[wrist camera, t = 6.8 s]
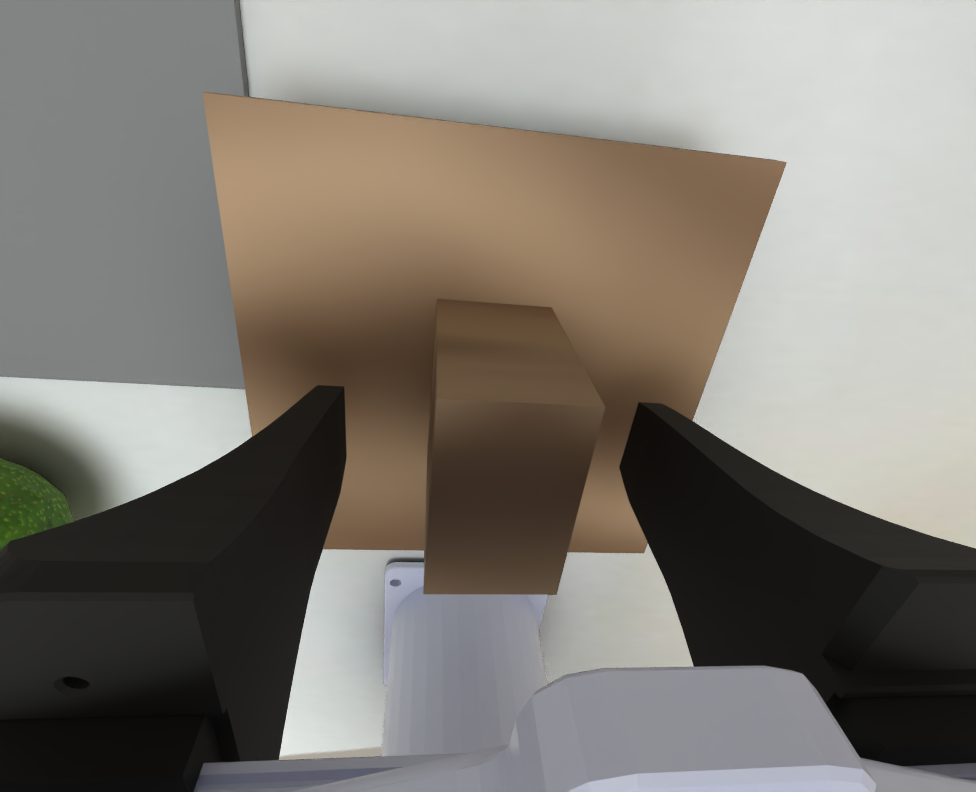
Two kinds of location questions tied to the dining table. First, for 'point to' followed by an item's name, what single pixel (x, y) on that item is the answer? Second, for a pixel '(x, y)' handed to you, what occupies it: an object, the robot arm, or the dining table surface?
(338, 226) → the cover board
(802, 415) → the dining table surface
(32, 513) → the avocado
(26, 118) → the mat
